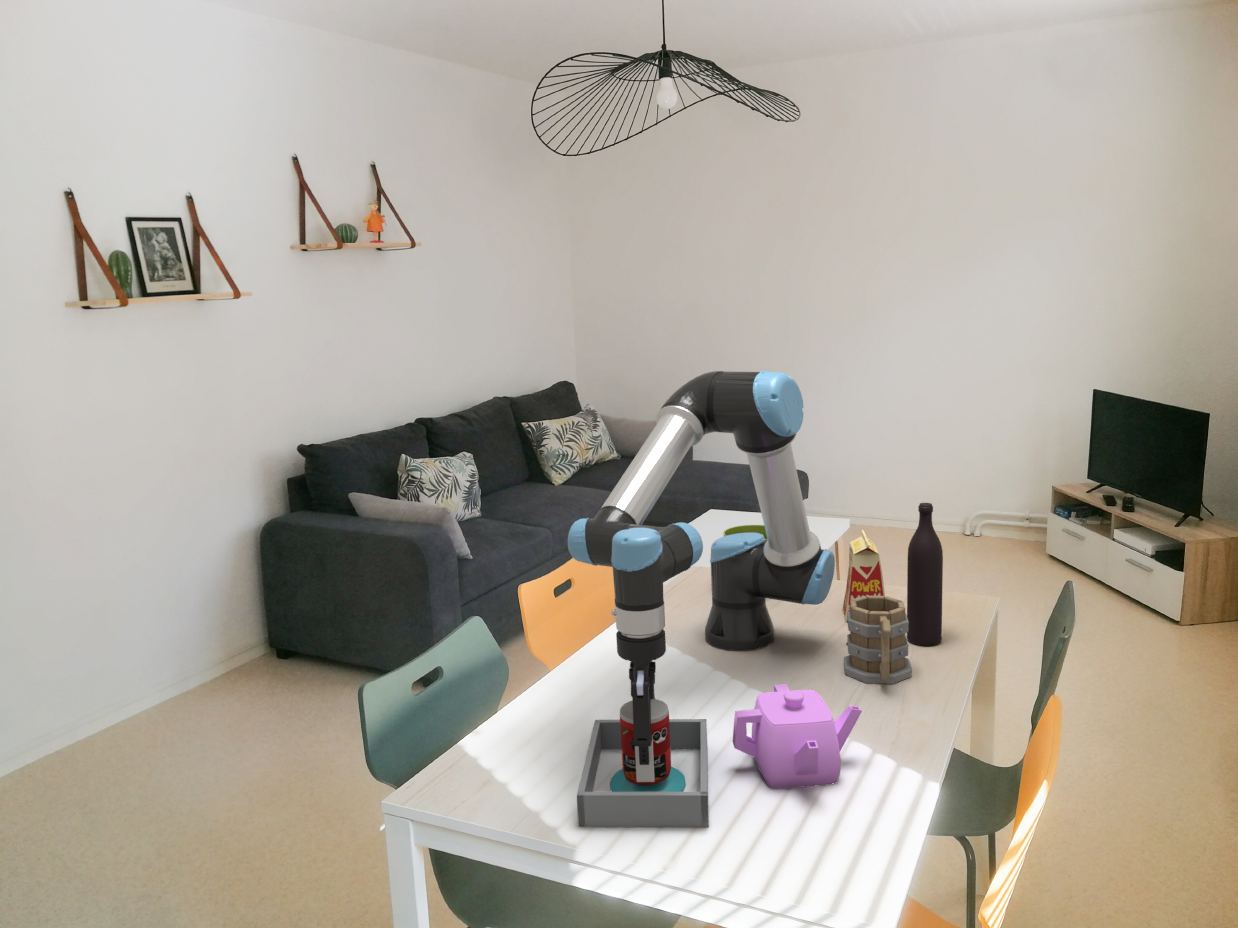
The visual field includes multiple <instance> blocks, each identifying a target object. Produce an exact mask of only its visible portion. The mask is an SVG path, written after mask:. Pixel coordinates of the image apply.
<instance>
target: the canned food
mask: <svg viewBox="0 0 1238 928" xmlns="http://www.w3.org/2000/svg"><path fill="white" fill-rule="evenodd" d="M669 710H670V709H669V706H668V704H667V703H666V702H664V701H663V700H660V699H657V698H655V699H651V738H652V740H653V757H654V778H655V780H654V782H637V778H636V758H635V746H634V745H630V740H634V728H633V700H632V699H631V700H629V701H627V702H626V703H623V704H622V706H621V707H620V709H619V720H620V731H621V748H622V750H621V763H622V768H623V773H624V775H625V778H626V779H627V780H628V781H629V782H631V783H633V784H637V785H645V786H646V785H654V784H658V783H660V782H662V781H664V780H665V779H667V778H668V776H669V774H670V771H671V766H672V755H671V750H672V749H670V724H669V719H670V713H669V712H670V711H669Z"/></svg>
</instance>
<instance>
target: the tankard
mask: <svg viewBox="0 0 1238 928" xmlns="http://www.w3.org/2000/svg"><path fill="white" fill-rule="evenodd" d="M905 606H906V605H905V604H904V601H902V600H900V599H897V598H895V597H894V598H893V597H891V596H890V597H889V596H887V595H885V596H866V597H865V596H863V597H859V598H856V599H853V600H851V601H850V611H848V612H847V620H846V624H847V630H848V631H849V634H847V635H846V637H847V641H846V643H845V644H846V646H847V652H848V655H846V656H844V657H843V666H844V675H846V676H848V677H850V678H853V679H856V680H858V681H860V682H862V683H864V684H876V685H878V684H883V685H895V684H897V683H899V682H901V681H904V680H907V679H908V678H911V677H912V675H913V674H912V673H913V672H912V669H913V668H912V666H911V662H910V659H909V658H908V656H909V643H908V639H907V635H906V634H907V632H908V624H909V621H908V618H907V612H906V607H905Z"/></svg>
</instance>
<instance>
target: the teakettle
mask: <svg viewBox="0 0 1238 928" xmlns="http://www.w3.org/2000/svg"><path fill="white" fill-rule="evenodd" d="M789 687H790V686H788V684H787V683H781V684H773V691H767V692H760V693H758V694H757V695H756V699H755V705H754V709H745V710H736V711H734V719H733V731H732V745H733V748H734V749H735V750H737V751H740V752H742V753H744V754H747V755H749V756H751V757H754V760H755V763H756V766H757V768H758V770H759V772H760V775H761V776H762V778H763V779H764V781H765V782H766V783H767V785H768V786H769V787H771V788H773V789H788V788H803V787H804V788H806V787H816V786H815V785H819V786H827V785H826V784H828V785H833V784H832V783H834V784H836V782H837V783H838V780H839V778H840V774H841V768H842V767H841V751H842V749H843V747H844V745H846V744H845V743H846V741H847V740H848V738H849V737H850V734H851V732H852V731H853V729H854V727H855V726H856V723H857V722H858V719H859V718H860V716H861V714H862V712H863V710H862V709H861V707H860V706H856V705H851V704H850V705H848V707H846V708H845V710H844V711H843V712H842V713H841V714H840V715H839V716H838V717H837V718H836V719H835V720H834V716H833V713H832V712H831V709H830V708H829V706H828V704H827V702H826V701H825V700H824V699H823V697H822V696H821V695H820V694H819V693H818V692H817V691H816V690H814V689H796V690H795V689H793V690H791V689H790V688H789ZM748 723H749V724H750V723H751V725H752V726H751V737H750V736H749V735H747V733H748V732H747V724H748Z"/></svg>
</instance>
